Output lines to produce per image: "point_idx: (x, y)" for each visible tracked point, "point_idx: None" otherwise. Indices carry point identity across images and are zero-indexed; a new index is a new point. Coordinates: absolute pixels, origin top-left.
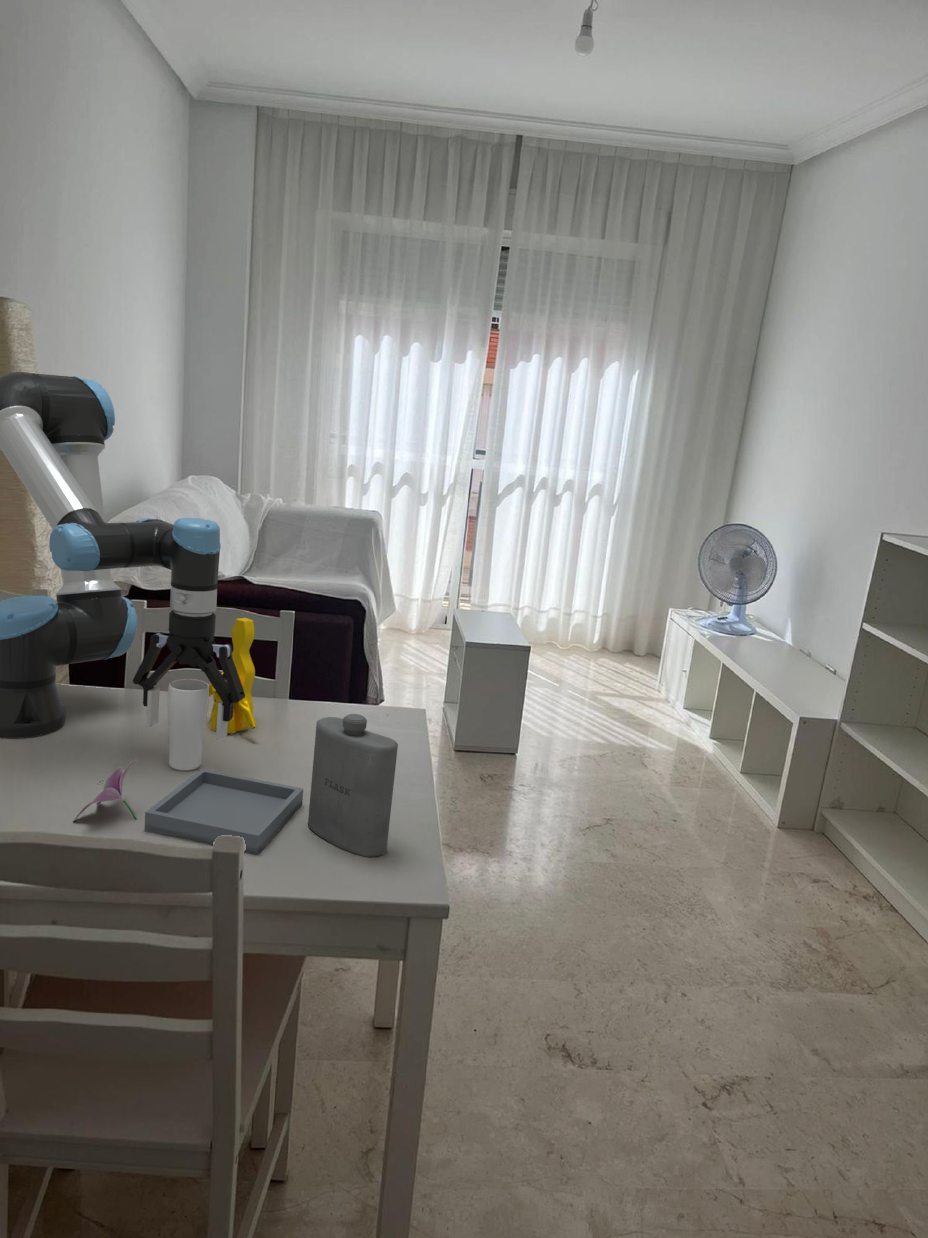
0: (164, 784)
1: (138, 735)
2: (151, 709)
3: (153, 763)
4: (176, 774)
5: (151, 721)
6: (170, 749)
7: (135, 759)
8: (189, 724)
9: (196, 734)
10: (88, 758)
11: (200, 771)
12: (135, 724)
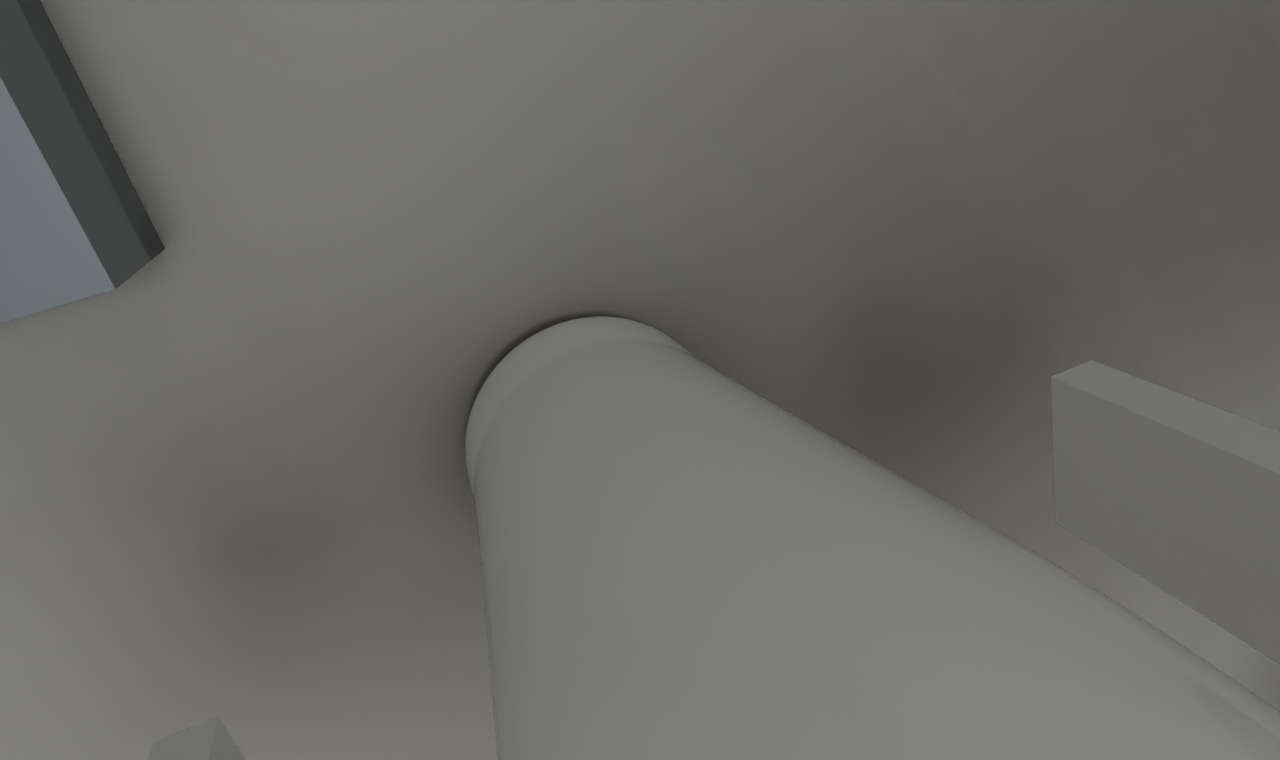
0: (426, 30)
1: None
2: (1265, 481)
3: (790, 292)
4: (515, 269)
5: (1103, 418)
6: (702, 365)
7: None
8: (569, 608)
9: (498, 609)
10: (1174, 29)
11: (34, 212)
12: None
